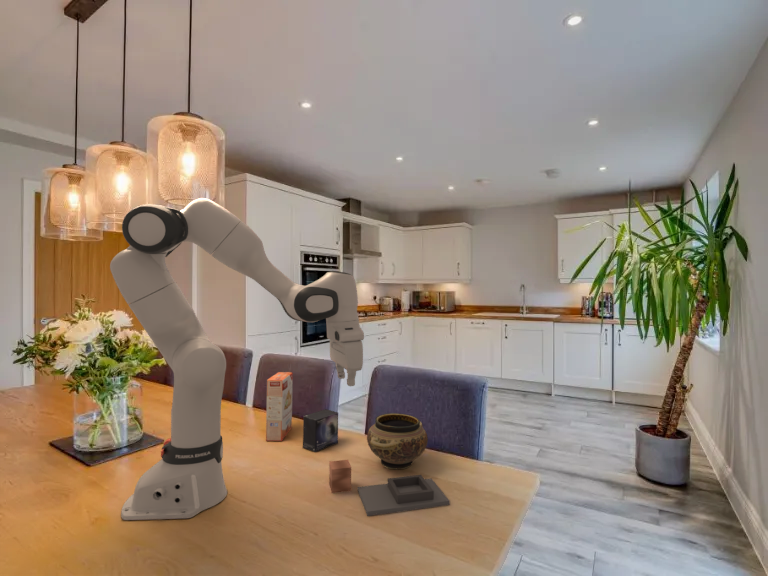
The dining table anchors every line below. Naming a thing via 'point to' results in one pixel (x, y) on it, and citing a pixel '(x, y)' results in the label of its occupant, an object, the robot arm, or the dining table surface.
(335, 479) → the terracotta block
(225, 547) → the dining table surface
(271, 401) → the cracker box
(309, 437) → the small box
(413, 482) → the base board
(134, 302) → the robot arm
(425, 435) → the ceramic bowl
